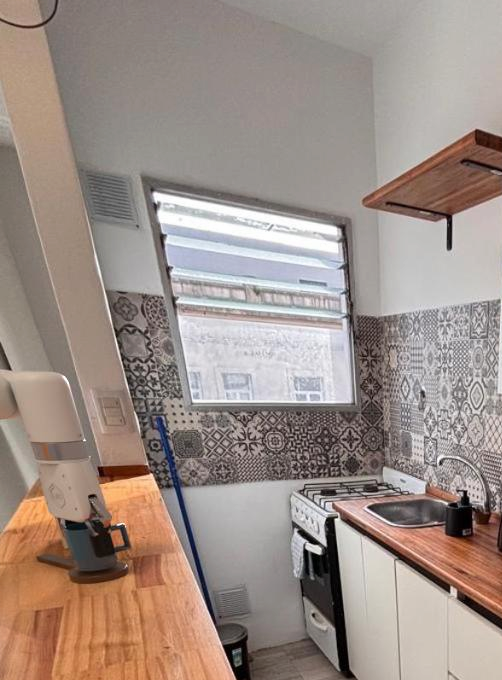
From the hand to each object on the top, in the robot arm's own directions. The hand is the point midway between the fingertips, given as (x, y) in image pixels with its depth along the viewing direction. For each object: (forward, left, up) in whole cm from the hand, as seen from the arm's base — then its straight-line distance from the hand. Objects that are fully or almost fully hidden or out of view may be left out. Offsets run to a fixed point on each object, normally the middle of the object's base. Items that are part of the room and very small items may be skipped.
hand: (92, 551), depth 95 cm
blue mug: (0, +2, -3) cm, 3 cm away
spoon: (-7, 0, -5) cm, 8 cm away
